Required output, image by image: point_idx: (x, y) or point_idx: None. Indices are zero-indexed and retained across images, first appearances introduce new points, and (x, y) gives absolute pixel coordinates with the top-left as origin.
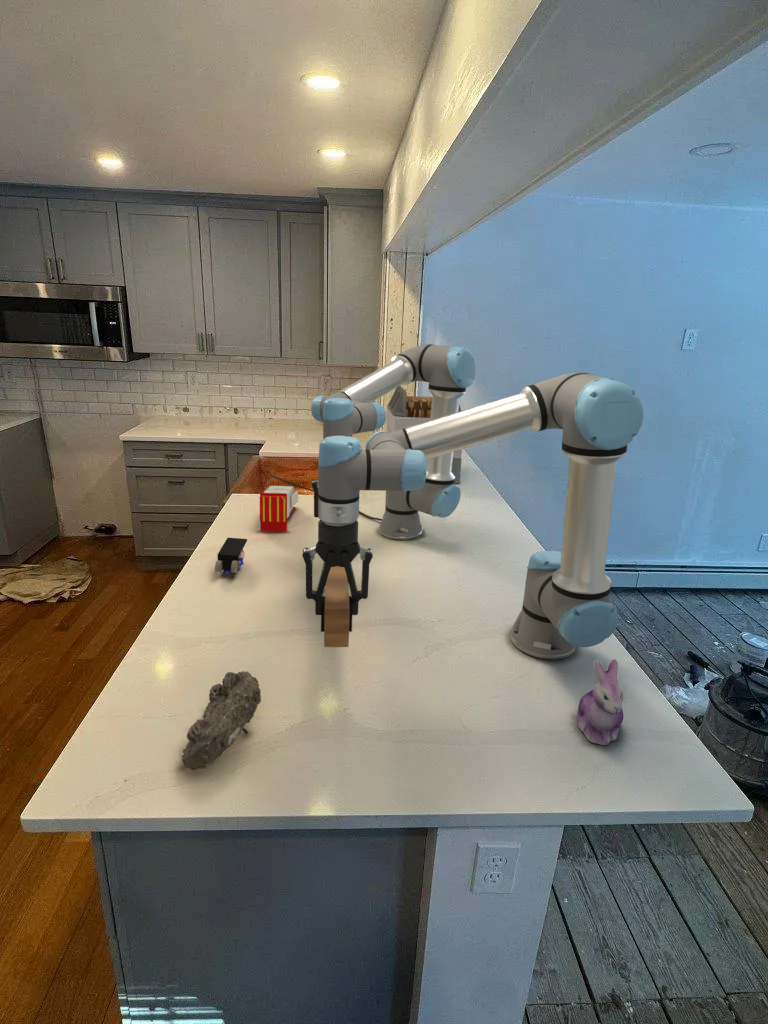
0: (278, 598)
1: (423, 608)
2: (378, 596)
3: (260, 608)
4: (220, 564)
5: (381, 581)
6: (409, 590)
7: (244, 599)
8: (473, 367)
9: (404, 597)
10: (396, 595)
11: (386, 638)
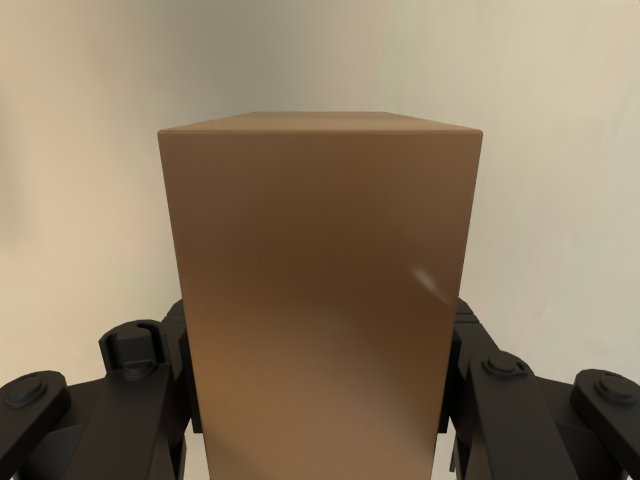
0: (133, 278)
1: (588, 336)
2: (466, 267)
3: (97, 333)
4: None
5: (506, 152)
6: (590, 225)
7: (26, 284)
8: None
9: (553, 273)
10: (530, 260)
11: (441, 455)
